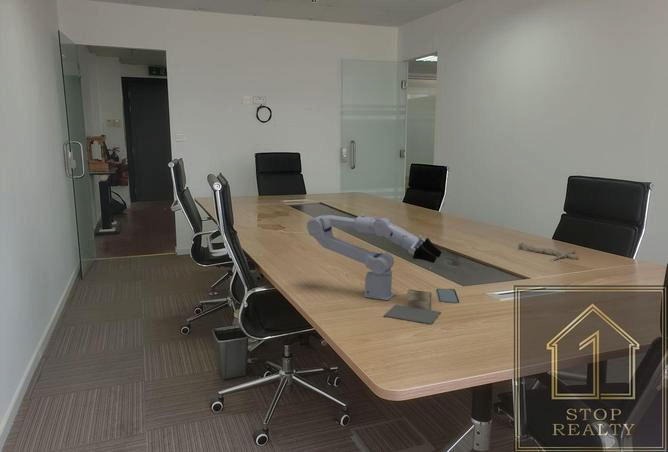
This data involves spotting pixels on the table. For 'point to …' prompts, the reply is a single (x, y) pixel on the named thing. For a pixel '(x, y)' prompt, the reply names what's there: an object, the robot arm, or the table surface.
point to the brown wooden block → (419, 299)
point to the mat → (412, 314)
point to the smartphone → (447, 295)
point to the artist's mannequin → (550, 252)
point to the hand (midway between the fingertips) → (438, 257)
